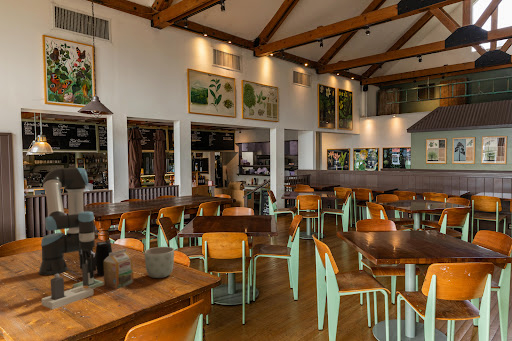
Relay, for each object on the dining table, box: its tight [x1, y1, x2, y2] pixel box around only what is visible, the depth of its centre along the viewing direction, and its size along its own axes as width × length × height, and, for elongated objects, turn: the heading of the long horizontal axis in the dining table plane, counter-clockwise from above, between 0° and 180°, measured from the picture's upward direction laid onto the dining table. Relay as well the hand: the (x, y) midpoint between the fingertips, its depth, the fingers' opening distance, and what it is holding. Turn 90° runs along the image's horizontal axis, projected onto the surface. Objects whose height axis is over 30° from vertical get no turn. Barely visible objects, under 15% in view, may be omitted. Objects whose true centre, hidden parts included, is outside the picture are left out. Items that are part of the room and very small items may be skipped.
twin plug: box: [50, 273, 65, 300], centre depth 165 cm, size 4×4×14 cm
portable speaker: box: [95, 240, 113, 277], centre depth 208 cm, size 9×9×20 cm
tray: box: [72, 278, 104, 290], centre depth 188 cm, size 11×11×2 cm
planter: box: [144, 246, 175, 279], centre depth 203 cm, size 17×17×15 cm
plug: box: [81, 260, 95, 286], centre depth 188 cm, size 4×4×14 cm
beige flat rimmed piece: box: [41, 285, 94, 310], centre depth 169 cm, size 10×20×4 cm, turn 147°
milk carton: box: [103, 248, 134, 290], centre depth 189 cm, size 11×11×19 cm
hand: (88, 282), depth 188 cm, fingers closed on plug, 4 cm apart
